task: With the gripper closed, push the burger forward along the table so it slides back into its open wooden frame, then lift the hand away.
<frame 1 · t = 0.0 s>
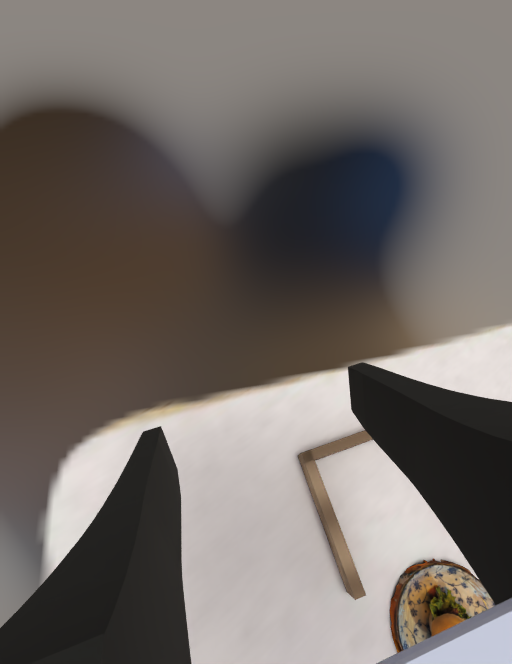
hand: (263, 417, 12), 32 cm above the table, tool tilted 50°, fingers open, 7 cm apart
burger: (443, 624, 36), on the table
open wooden frame: (387, 495, 40), on the table
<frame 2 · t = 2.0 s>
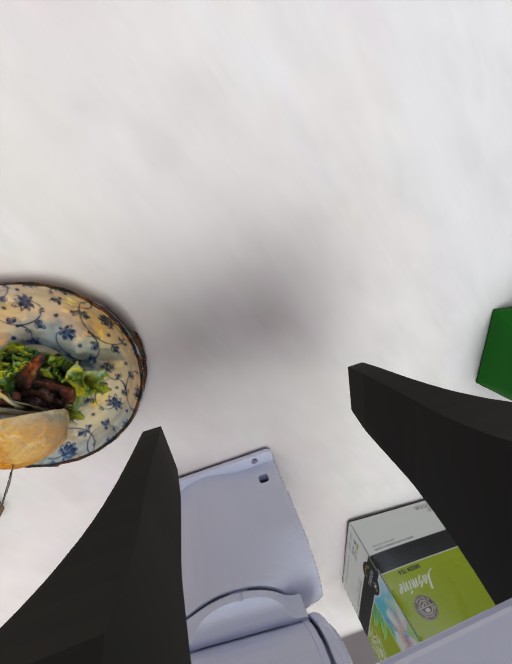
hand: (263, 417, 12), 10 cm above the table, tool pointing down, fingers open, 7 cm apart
burger: (43, 369, 20), on the table
tea box: (405, 531, 36), on the table
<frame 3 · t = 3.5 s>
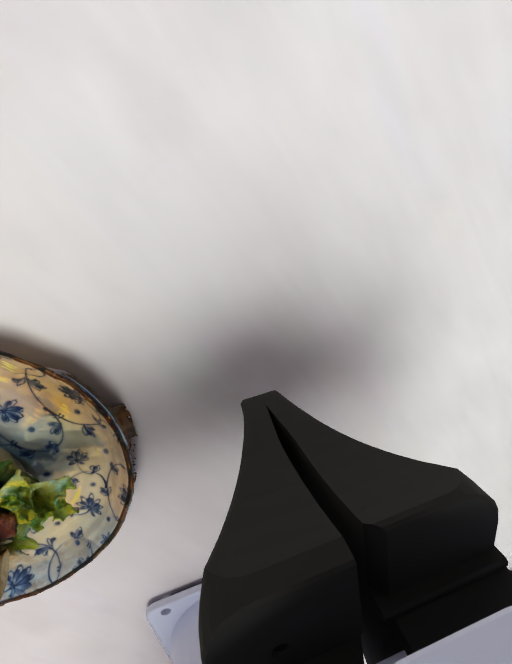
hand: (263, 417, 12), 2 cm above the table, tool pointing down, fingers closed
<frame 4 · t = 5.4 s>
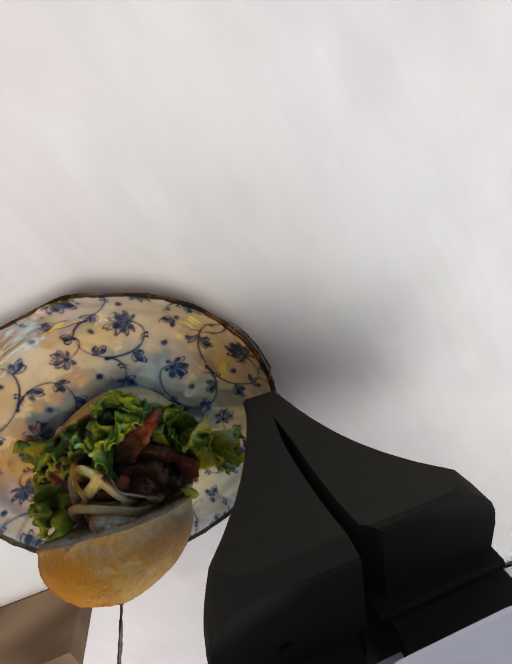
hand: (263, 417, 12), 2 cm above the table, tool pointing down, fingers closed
burger: (131, 417, 14), on the table, touching gripper
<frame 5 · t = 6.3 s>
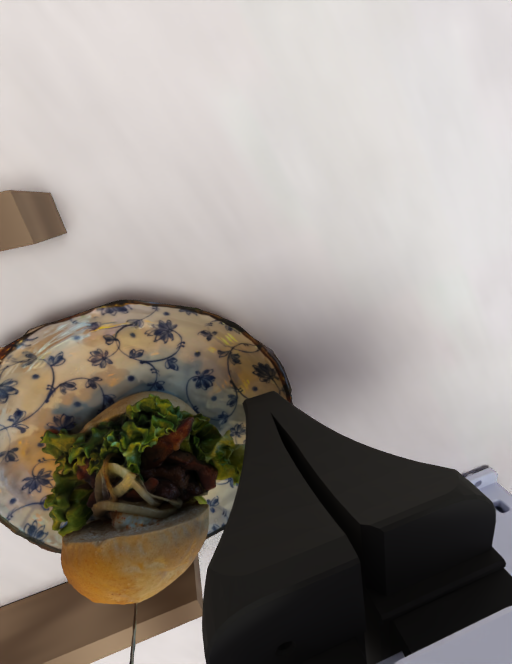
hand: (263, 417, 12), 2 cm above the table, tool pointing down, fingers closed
burger: (148, 420, 14), on the table, touching gripper
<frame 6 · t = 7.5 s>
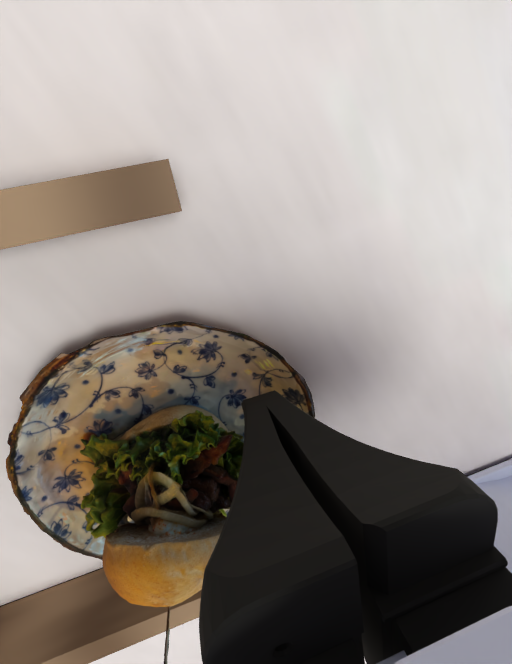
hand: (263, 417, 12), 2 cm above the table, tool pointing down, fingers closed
burger: (175, 430, 15), on the table, touching gripper
open wooden frame: (54, 444, 13), on the table
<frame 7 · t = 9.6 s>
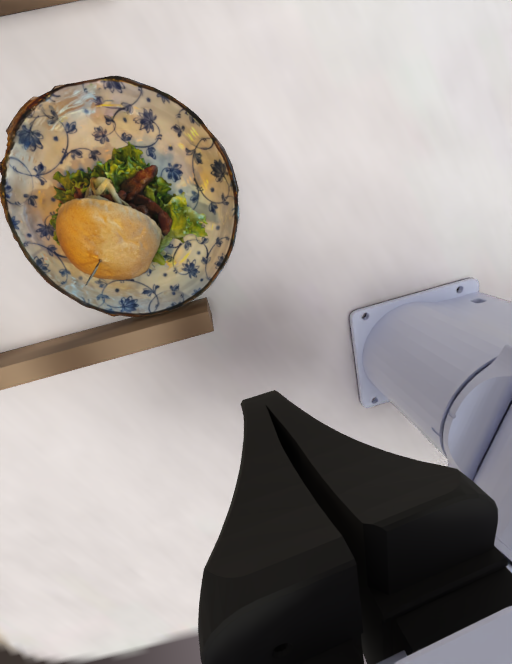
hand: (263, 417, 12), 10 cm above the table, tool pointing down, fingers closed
burger: (132, 210, 19), on the table
open wooden frame: (39, 200, 18), on the table
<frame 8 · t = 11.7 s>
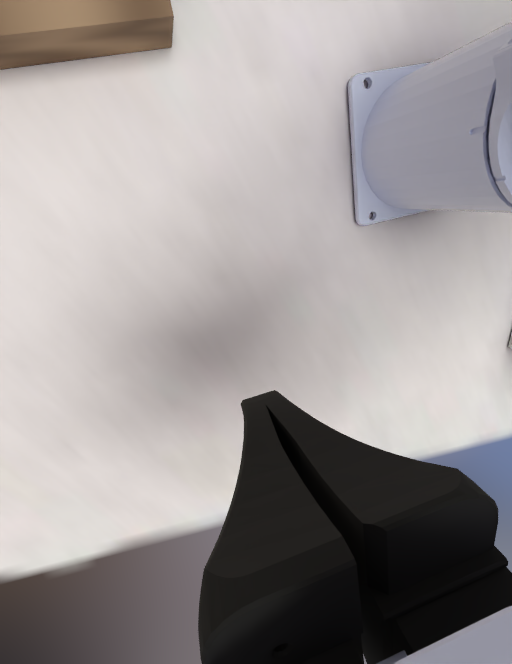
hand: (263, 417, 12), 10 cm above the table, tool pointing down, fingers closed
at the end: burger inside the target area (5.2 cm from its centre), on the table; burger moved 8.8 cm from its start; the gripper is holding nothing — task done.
